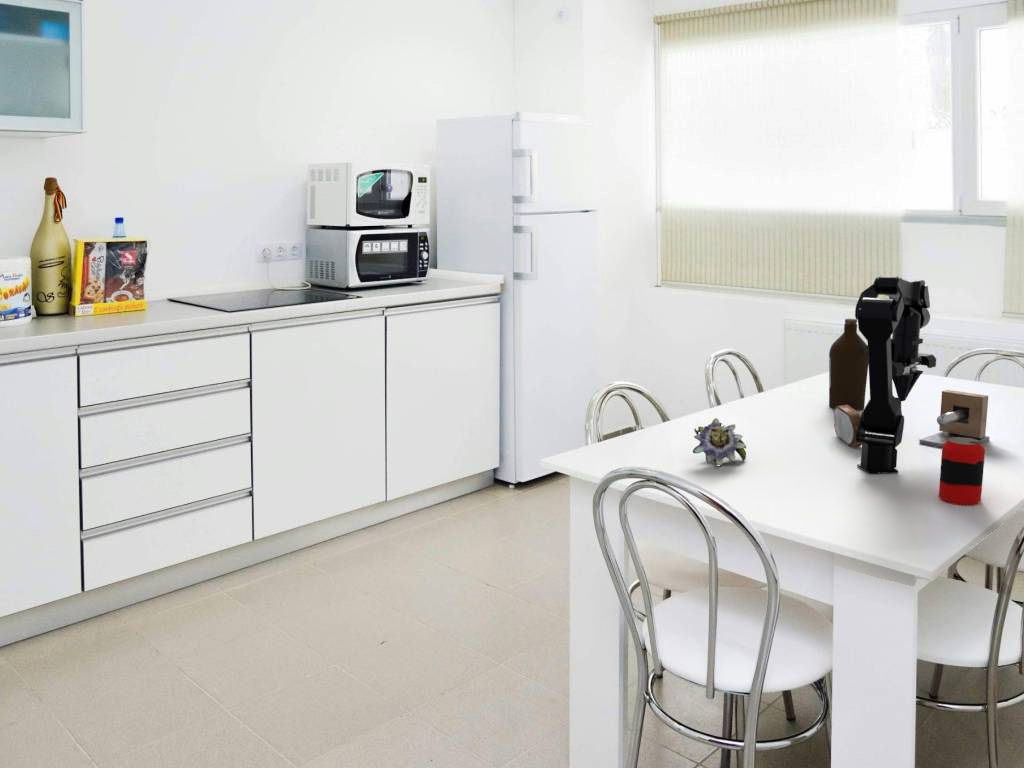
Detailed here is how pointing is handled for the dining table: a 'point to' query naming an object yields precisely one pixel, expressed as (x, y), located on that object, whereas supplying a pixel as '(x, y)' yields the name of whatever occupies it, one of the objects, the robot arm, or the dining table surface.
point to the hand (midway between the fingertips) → (901, 400)
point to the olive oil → (848, 369)
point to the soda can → (961, 471)
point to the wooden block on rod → (976, 413)
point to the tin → (846, 424)
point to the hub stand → (947, 419)
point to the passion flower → (719, 442)
